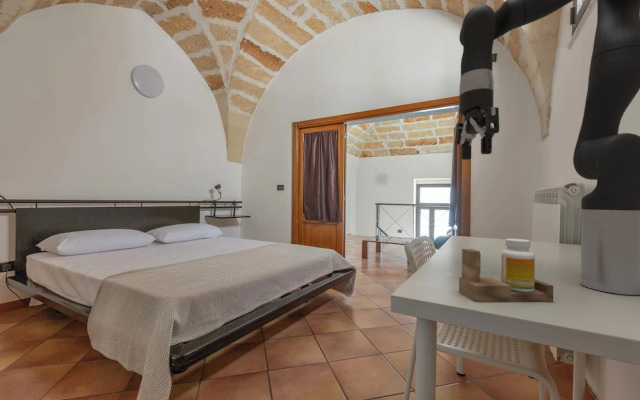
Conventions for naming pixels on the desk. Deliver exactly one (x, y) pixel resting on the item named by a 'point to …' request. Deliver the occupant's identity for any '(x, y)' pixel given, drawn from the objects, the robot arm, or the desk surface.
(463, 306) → the desk surface
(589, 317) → the desk surface
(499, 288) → the wooden stand
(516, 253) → the supplement bottle
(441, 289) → the desk surface
